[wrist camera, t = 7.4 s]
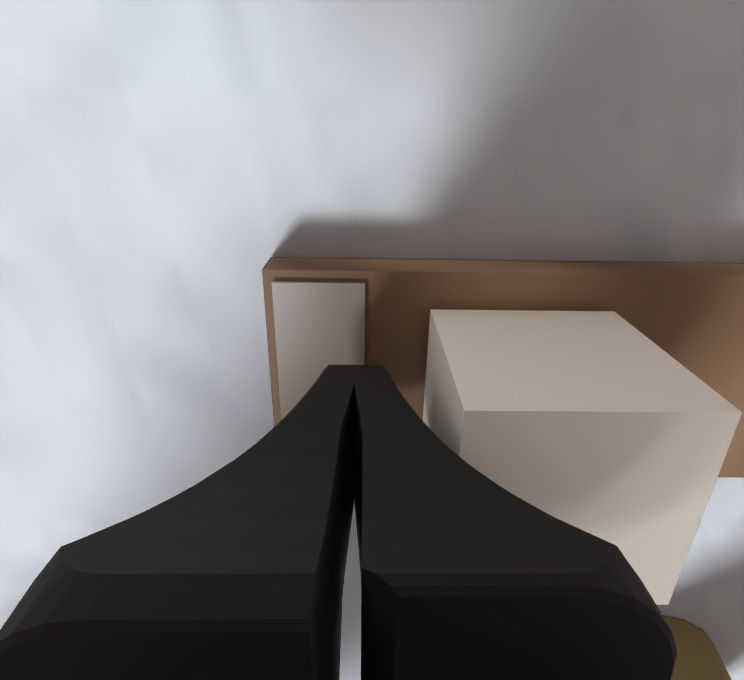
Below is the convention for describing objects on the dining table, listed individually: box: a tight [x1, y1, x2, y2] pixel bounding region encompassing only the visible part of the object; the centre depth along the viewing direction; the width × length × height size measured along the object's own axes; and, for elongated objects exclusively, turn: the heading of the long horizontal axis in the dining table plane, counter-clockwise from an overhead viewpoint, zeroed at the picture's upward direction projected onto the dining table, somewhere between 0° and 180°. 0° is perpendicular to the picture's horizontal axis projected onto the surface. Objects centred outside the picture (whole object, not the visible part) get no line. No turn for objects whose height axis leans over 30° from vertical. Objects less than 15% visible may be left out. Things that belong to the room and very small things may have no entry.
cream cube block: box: [423, 309, 742, 605], centre depth 10 cm, size 4×4×4 cm
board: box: [262, 257, 744, 477], centre depth 12 cm, size 15×6×1 cm, turn 89°
